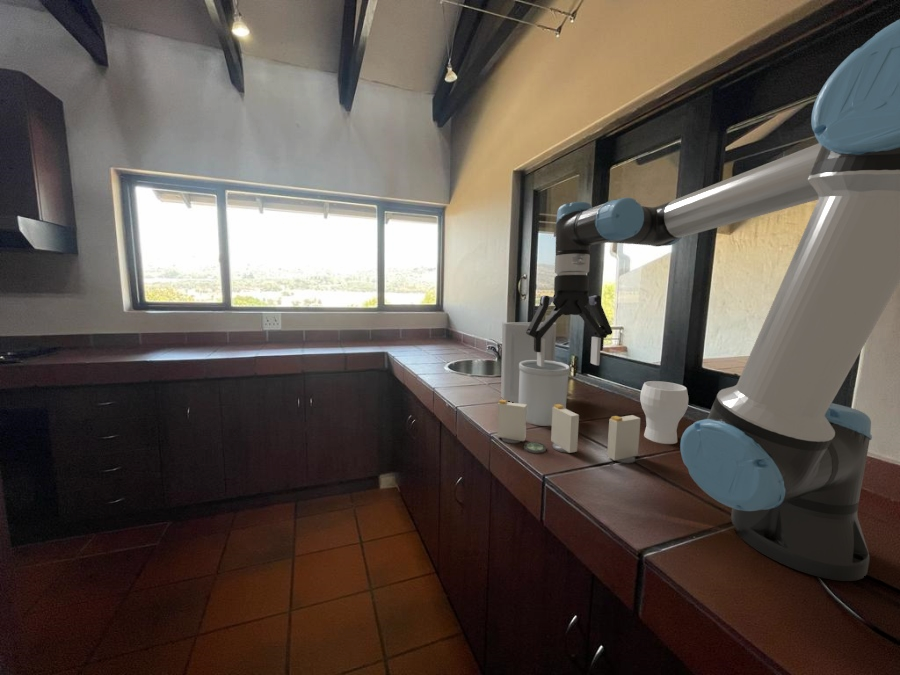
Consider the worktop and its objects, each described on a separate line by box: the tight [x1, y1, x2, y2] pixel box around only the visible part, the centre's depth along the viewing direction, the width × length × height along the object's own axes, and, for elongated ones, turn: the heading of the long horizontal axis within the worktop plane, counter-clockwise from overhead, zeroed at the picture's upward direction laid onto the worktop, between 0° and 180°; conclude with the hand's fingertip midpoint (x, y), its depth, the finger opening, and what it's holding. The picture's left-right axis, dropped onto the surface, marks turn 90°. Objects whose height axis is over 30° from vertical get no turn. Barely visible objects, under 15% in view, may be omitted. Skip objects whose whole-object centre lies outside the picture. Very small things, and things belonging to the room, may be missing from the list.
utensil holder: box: [519, 360, 571, 427], centre depth 105 cm, size 15×15×18 cm
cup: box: [639, 380, 689, 445], centre depth 90 cm, size 11×11×15 cm
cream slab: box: [496, 398, 527, 444], centre depth 89 cm, size 5×7×10 cm
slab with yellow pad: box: [606, 414, 641, 464], centre depth 79 cm, size 5×7×10 cm
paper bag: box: [500, 321, 557, 403], centre depth 122 cm, size 19×15×28 cm
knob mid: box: [550, 404, 580, 454], centre depth 84 cm, size 5×7×10 cm
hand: (567, 365), depth 82 cm, fingers open, 13 cm apart
